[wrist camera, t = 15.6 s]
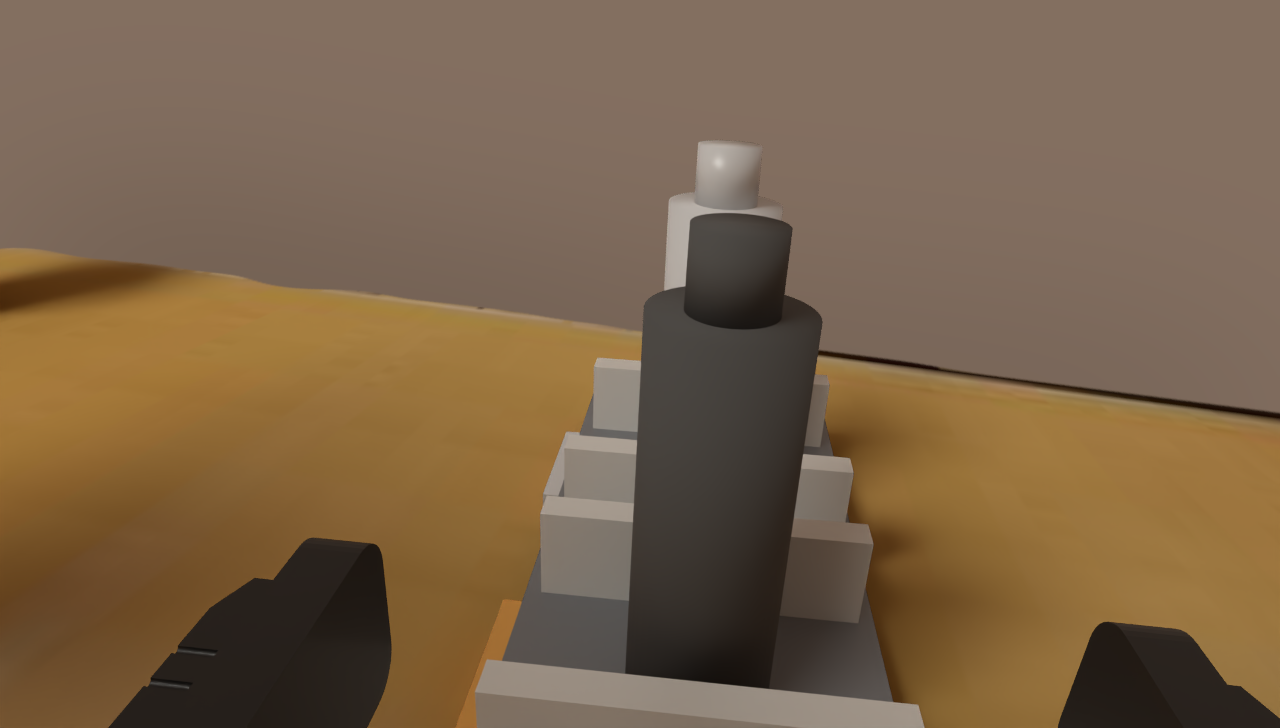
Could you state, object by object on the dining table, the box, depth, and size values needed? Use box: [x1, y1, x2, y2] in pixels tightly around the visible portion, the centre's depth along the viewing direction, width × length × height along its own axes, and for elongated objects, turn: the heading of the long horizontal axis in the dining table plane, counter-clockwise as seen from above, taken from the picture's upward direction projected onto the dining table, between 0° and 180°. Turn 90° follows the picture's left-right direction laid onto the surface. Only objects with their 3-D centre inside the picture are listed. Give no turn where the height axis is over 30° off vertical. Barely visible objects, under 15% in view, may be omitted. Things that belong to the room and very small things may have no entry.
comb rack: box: [455, 358, 924, 728], centre depth 27 cm, size 24×12×4 cm, turn 174°
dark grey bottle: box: [625, 213, 822, 689], centre depth 20 cm, size 4×4×13 cm
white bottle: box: [664, 140, 783, 291], centre depth 30 cm, size 4×4×13 cm
